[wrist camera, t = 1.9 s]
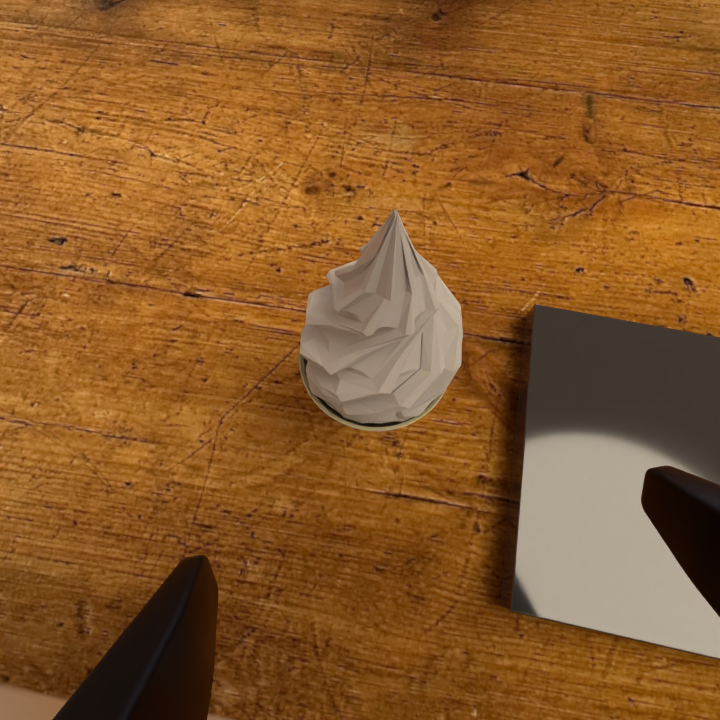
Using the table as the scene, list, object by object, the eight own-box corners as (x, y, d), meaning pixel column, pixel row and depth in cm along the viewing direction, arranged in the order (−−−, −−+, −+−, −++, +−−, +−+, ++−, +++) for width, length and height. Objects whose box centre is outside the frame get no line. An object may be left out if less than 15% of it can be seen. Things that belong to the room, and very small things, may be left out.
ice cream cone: (442, 429, 22) (587, 243, 8) (356, 489, 21) (349, 396, 7) (383, 350, 24) (418, 77, 10) (300, 402, 23) (202, 183, 9)
